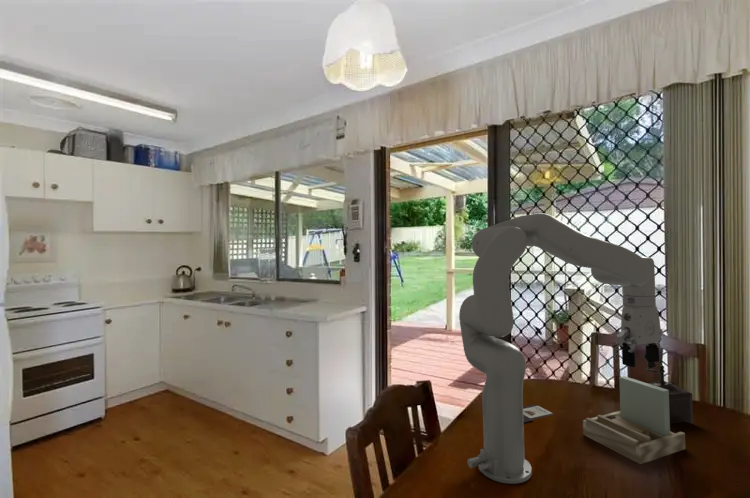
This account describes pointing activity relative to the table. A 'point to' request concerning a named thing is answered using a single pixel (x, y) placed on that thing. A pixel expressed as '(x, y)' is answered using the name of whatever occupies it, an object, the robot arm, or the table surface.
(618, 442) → the rack
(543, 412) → the chocolate bar
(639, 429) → the offcut top
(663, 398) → the sheet
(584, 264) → the robot arm
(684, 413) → the dark brown coffee grinder
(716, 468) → the table surface
